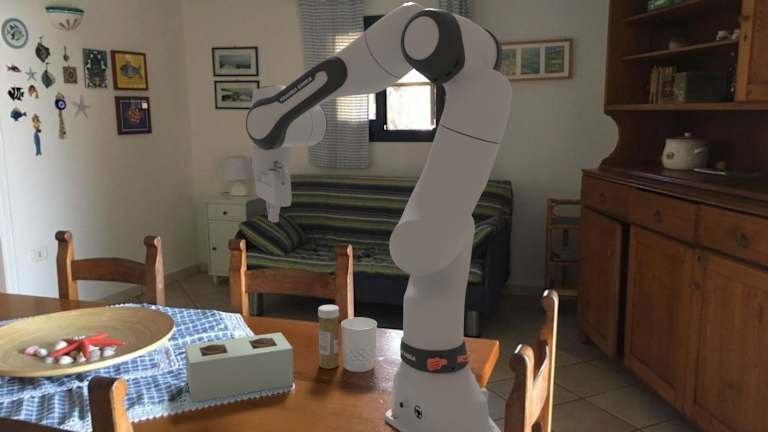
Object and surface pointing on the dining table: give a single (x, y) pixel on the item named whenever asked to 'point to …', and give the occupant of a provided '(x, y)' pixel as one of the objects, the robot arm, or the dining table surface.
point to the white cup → (359, 343)
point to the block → (238, 367)
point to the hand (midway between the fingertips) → (273, 221)
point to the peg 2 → (262, 343)
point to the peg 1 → (213, 349)
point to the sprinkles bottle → (328, 336)
